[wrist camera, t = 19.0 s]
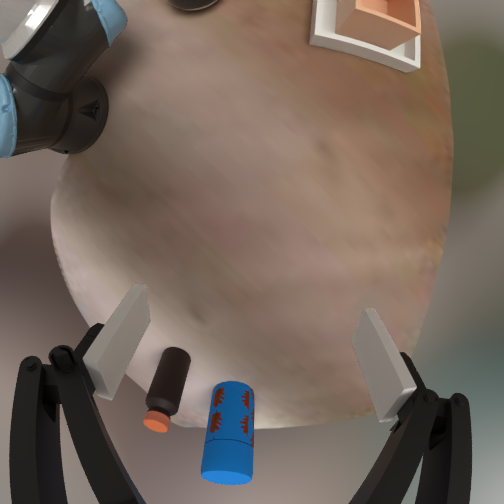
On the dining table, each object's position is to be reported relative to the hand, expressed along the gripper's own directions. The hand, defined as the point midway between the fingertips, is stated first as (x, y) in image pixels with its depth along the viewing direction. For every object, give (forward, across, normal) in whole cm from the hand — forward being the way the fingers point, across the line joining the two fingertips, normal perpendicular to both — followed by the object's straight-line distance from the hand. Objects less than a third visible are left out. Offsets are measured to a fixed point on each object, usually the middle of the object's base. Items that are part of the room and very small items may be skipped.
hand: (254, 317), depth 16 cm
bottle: (+32, -14, -38) cm, 52 cm away
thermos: (+32, 0, -50) cm, 59 cm away
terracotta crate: (+31, +14, +37) cm, 50 cm away
